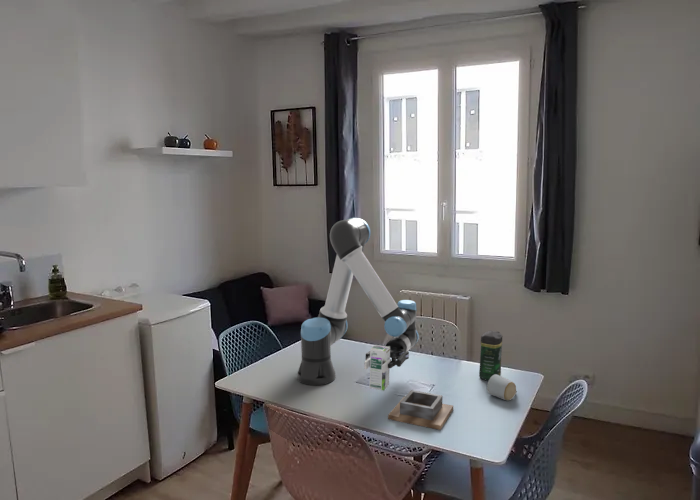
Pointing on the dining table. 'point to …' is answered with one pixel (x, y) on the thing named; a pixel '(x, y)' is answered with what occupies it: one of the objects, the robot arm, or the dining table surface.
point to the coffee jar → (490, 354)
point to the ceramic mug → (501, 387)
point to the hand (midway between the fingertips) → (374, 367)
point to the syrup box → (379, 367)
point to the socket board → (422, 410)
